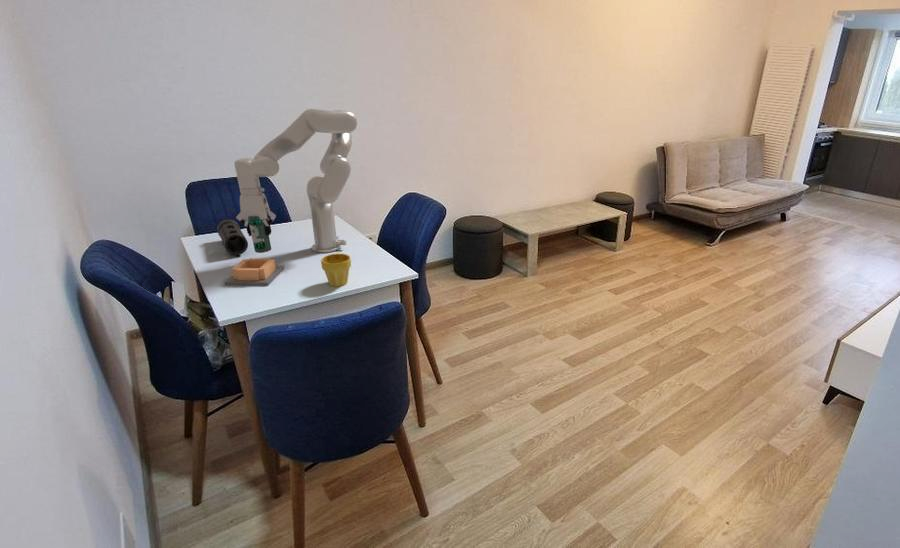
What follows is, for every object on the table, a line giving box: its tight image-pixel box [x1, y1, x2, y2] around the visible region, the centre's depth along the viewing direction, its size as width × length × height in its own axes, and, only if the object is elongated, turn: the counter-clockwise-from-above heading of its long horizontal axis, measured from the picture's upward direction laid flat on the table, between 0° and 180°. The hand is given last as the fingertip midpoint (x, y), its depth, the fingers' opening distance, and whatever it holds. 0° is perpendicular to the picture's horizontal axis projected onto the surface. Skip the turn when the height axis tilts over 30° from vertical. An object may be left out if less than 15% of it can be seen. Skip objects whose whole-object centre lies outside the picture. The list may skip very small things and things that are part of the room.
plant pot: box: [320, 253, 352, 287], centre depth 167 cm, size 10×10×10 cm
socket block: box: [223, 257, 285, 287], centre depth 173 cm, size 16×16×5 cm
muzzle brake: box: [216, 219, 249, 257], centre depth 203 cm, size 10×28×10 cm, turn 31°
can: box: [248, 216, 272, 254], centre depth 185 cm, size 6×6×15 cm
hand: (260, 234), depth 185 cm, fingers closed on can, 6 cm apart
